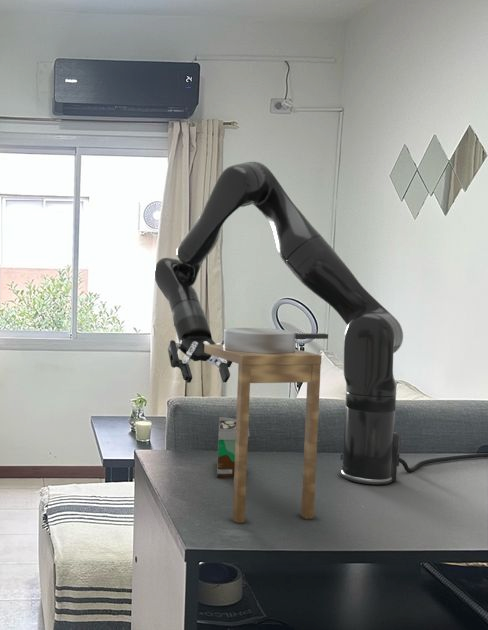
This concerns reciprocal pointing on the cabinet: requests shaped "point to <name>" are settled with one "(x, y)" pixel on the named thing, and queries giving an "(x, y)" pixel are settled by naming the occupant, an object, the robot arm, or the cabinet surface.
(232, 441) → the food container
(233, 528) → the cabinet surface
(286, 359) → the pan shelf
